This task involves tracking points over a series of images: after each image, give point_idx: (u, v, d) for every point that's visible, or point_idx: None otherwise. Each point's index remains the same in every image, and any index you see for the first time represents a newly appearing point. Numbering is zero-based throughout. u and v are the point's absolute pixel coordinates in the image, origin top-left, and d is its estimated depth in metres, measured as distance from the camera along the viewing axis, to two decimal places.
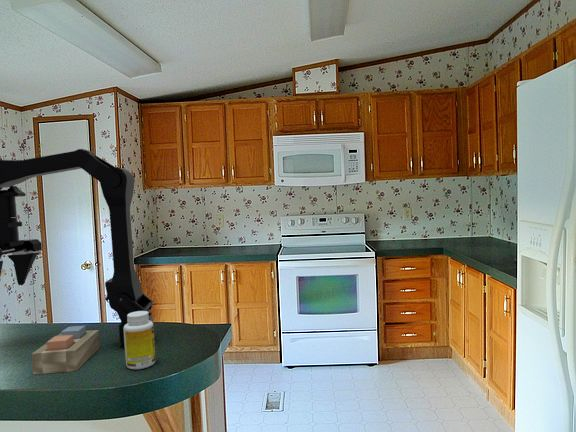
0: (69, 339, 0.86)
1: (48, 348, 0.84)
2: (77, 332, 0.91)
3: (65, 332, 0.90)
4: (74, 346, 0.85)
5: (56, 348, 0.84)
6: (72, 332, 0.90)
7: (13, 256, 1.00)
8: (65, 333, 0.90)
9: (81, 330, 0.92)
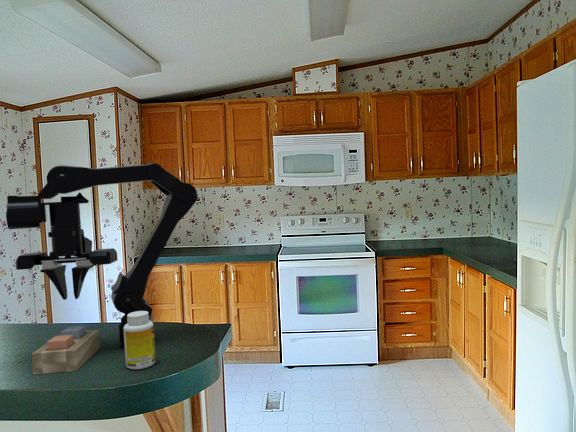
0: (69, 339, 0.86)
1: (48, 348, 0.84)
2: (77, 332, 0.91)
3: (65, 332, 0.90)
4: (74, 346, 0.85)
5: (56, 348, 0.84)
6: (72, 332, 0.90)
7: None
8: (65, 333, 0.90)
9: (81, 330, 0.92)
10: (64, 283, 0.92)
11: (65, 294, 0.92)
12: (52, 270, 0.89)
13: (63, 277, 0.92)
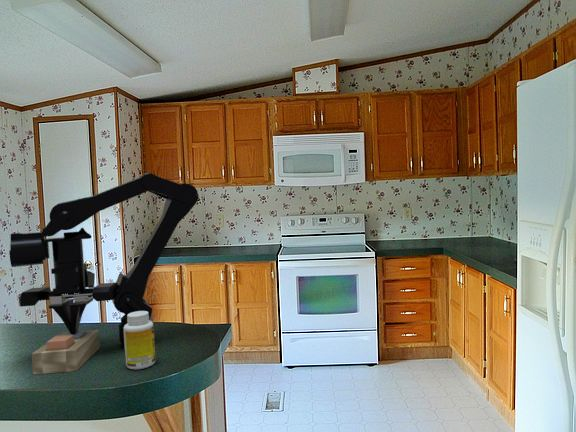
0: (69, 339, 0.86)
1: (48, 348, 0.84)
2: (77, 337, 0.91)
3: None
4: (74, 346, 0.85)
5: (56, 348, 0.84)
6: None
7: None
8: None
9: (81, 335, 0.92)
10: None
11: None
12: (60, 306, 0.89)
13: None
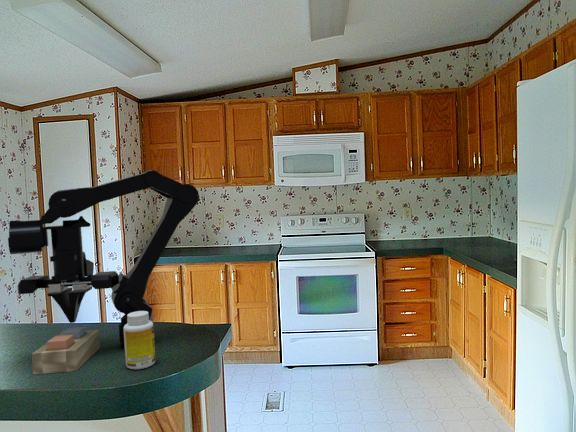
0: (69, 339, 0.86)
1: (48, 348, 0.84)
2: (77, 333, 0.91)
3: (65, 333, 0.90)
4: (74, 346, 0.85)
5: (56, 348, 0.84)
6: (72, 333, 0.90)
7: None
8: (65, 334, 0.90)
9: (81, 331, 0.92)
10: None
11: None
12: (59, 294, 0.89)
13: None
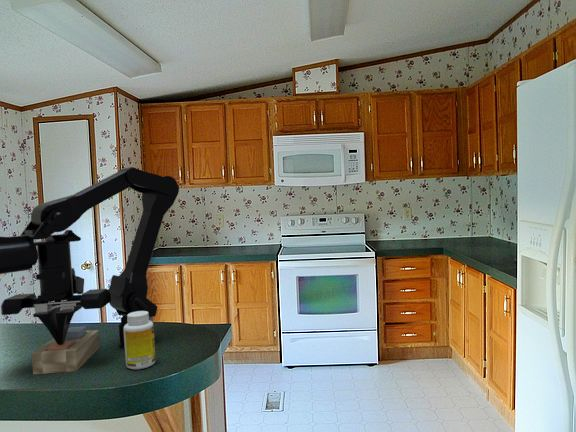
0: (69, 345, 0.86)
1: None
2: (77, 333, 0.91)
3: None
4: (74, 346, 0.85)
5: None
6: (72, 333, 0.90)
7: None
8: None
9: (81, 331, 0.92)
10: None
11: None
12: (46, 314, 0.83)
13: None
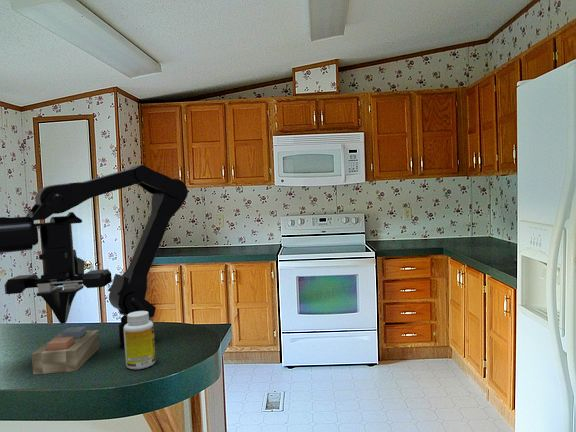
0: (69, 341, 0.86)
1: (48, 350, 0.84)
2: (77, 333, 0.91)
3: (65, 333, 0.90)
4: (74, 346, 0.85)
5: None
6: (72, 333, 0.90)
7: None
8: (65, 334, 0.90)
9: (81, 331, 0.92)
10: None
11: None
12: (49, 294, 0.85)
13: None
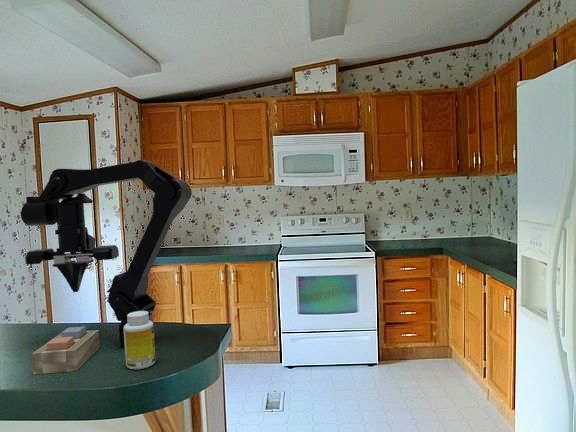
0: (69, 341, 0.86)
1: (48, 350, 0.84)
2: (77, 333, 0.91)
3: (65, 333, 0.90)
4: (74, 346, 0.85)
5: None
6: (72, 333, 0.90)
7: None
8: (65, 334, 0.90)
9: (81, 331, 0.92)
10: None
11: None
12: (63, 264, 0.96)
13: None
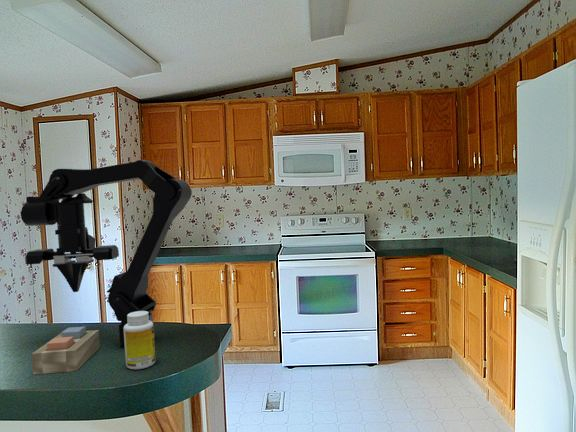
0: (69, 341, 0.86)
1: (48, 350, 0.84)
2: (77, 333, 0.91)
3: (65, 333, 0.90)
4: (74, 346, 0.85)
5: None
6: (72, 333, 0.90)
7: None
8: (65, 334, 0.90)
9: (81, 331, 0.92)
10: None
11: None
12: (63, 264, 0.96)
13: None
